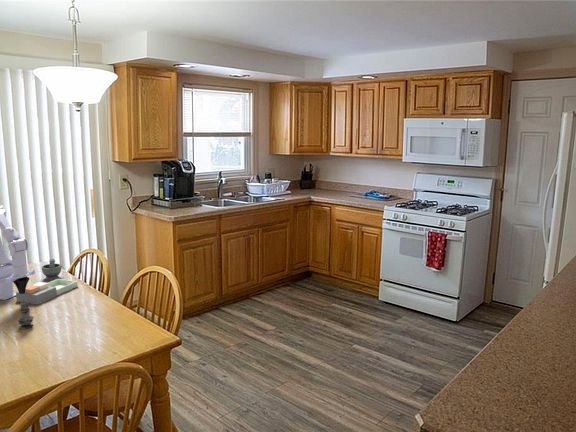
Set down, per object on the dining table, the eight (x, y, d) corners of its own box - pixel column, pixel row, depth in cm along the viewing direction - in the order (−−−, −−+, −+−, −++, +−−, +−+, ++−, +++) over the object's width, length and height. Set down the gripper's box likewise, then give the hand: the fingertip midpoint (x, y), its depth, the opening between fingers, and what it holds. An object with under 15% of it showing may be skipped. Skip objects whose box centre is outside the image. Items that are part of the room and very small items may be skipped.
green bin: (37, 292, 235) (37, 287, 234) (58, 284, 248) (58, 278, 248) (57, 295, 232) (56, 289, 231) (77, 286, 245) (77, 281, 244)
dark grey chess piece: (27, 330, 192) (24, 302, 190) (14, 328, 194) (12, 301, 191) (37, 324, 198) (35, 297, 196) (25, 323, 199) (22, 296, 197)
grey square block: (16, 301, 223) (15, 292, 222) (36, 293, 235) (36, 284, 234) (37, 304, 220) (36, 295, 219) (56, 296, 231) (55, 287, 230)
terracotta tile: (22, 292, 222) (22, 288, 222) (31, 289, 227) (30, 285, 226) (31, 294, 220) (30, 289, 220) (39, 290, 225) (39, 286, 225)
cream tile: (32, 289, 227) (31, 285, 227) (40, 285, 232) (39, 281, 231) (40, 290, 226) (40, 286, 225) (48, 287, 230) (48, 283, 230)
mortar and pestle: (41, 277, 259) (39, 255, 257) (60, 274, 264) (58, 253, 262) (44, 282, 250) (42, 260, 248) (63, 280, 255) (62, 258, 253)
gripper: (13, 270, 208) (15, 299, 211) (39, 261, 222) (41, 289, 224) (0, 268, 210) (3, 297, 213) (27, 260, 224) (29, 287, 226)
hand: (22, 293), depth 219 cm, fingers closed
